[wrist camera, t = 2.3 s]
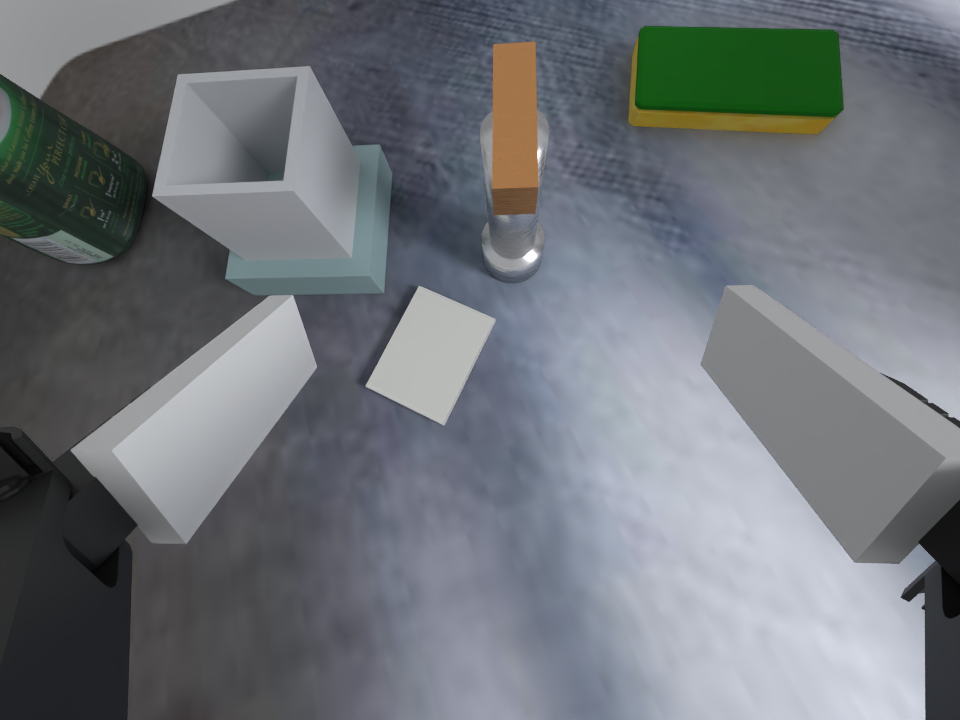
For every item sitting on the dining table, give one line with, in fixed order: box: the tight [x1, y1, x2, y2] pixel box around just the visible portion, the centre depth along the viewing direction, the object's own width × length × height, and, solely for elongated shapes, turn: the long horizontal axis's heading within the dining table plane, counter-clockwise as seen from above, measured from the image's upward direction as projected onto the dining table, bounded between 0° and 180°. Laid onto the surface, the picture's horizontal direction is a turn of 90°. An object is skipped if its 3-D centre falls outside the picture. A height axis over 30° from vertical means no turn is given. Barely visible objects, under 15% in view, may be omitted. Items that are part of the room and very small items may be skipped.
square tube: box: [152, 66, 392, 295], centre depth 24 cm, size 10×10×10 cm
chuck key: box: [480, 42, 549, 283], centre depth 22 cm, size 7×4×12 cm, turn 179°
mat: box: [365, 286, 496, 425], centre depth 26 cm, size 8×6×1 cm
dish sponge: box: [628, 26, 844, 135], centre depth 29 cm, size 7×14×2 cm, turn 83°
